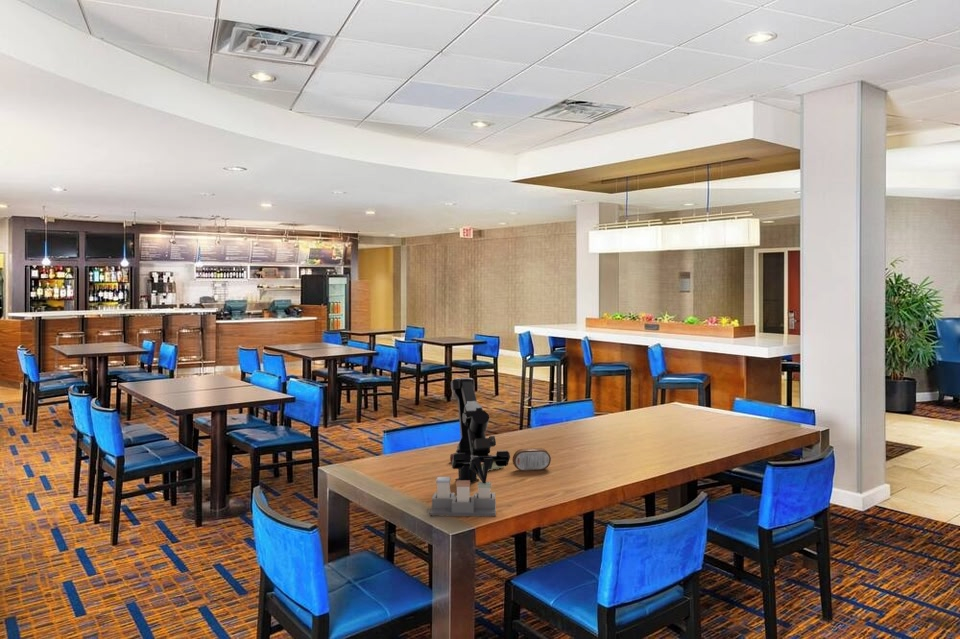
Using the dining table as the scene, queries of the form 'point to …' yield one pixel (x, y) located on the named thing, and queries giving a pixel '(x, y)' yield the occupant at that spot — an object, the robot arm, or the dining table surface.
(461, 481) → the key
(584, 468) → the dining table surface
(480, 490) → the key
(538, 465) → the tin
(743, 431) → the dining table surface
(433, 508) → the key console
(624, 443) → the dining table surface
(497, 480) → the dining table surface
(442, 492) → the grey upright block
